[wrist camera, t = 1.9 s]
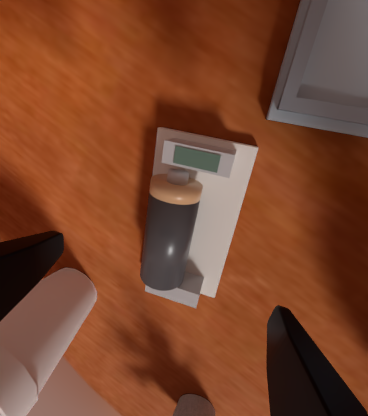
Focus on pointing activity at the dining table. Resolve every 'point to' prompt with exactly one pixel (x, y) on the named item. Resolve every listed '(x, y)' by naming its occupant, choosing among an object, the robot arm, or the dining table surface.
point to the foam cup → (40, 336)
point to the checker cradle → (206, 203)
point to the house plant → (193, 406)
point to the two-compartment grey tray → (325, 69)
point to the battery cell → (169, 228)
